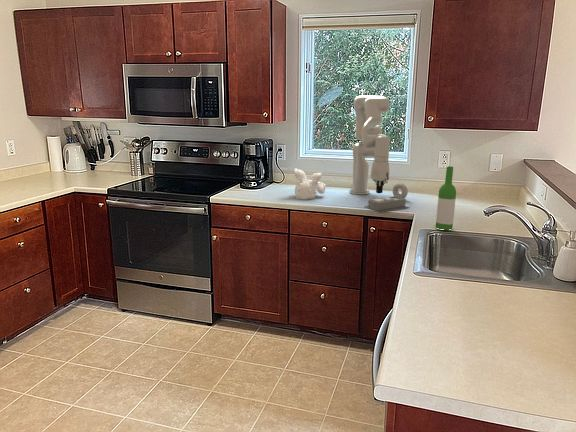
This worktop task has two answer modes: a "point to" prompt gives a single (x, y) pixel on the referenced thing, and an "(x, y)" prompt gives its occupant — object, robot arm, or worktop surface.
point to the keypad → (387, 205)
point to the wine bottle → (446, 202)
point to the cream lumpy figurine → (308, 185)
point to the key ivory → (378, 200)
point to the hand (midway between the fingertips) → (379, 192)
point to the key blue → (387, 199)
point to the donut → (402, 187)
